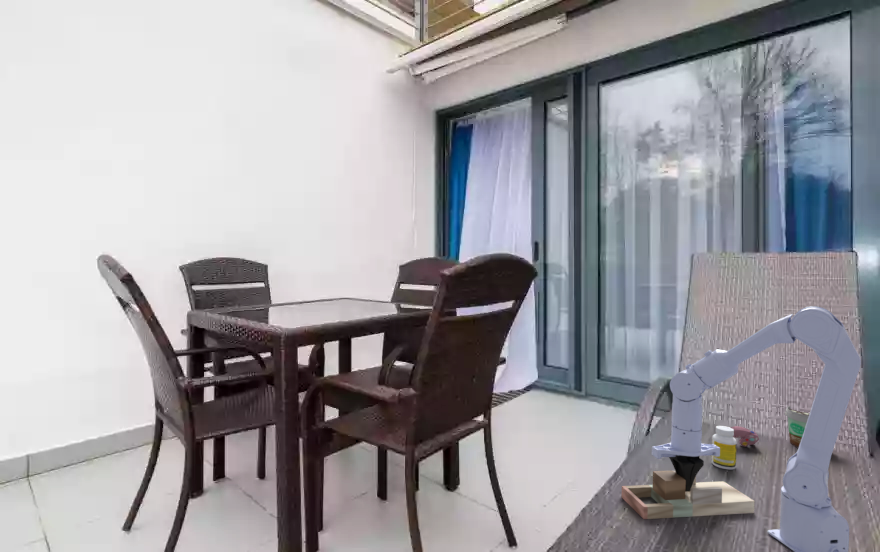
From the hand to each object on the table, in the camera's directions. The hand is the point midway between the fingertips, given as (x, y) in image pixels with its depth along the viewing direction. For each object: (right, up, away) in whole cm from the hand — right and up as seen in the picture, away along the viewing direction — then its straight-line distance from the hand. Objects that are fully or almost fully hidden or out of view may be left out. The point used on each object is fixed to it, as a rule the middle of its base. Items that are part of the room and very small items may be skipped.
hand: (684, 489), depth 96 cm
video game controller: (+34, -4, +34) cm, 48 cm away
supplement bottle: (+21, -4, +20) cm, 29 cm away
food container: (+53, -4, +33) cm, 62 cm away
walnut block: (-4, -1, 0) cm, 4 cm away
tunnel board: (0, -3, 0) cm, 3 cm away
